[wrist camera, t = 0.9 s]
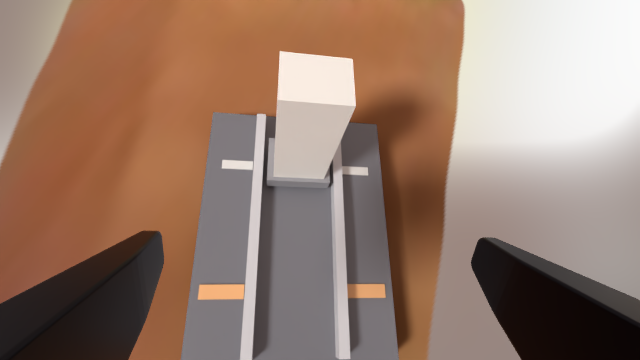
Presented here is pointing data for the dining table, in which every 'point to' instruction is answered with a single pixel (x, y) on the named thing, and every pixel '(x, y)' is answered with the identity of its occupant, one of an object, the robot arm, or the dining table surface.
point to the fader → (309, 118)
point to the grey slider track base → (290, 254)
